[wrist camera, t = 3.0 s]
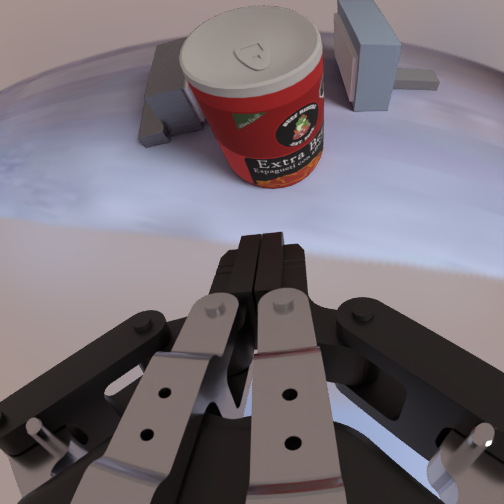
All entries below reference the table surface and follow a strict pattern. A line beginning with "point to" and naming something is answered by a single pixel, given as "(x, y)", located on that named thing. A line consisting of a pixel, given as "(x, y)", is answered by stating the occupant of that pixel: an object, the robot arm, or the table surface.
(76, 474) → the robot arm
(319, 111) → the canned food
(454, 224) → the table surface
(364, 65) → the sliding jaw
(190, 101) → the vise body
